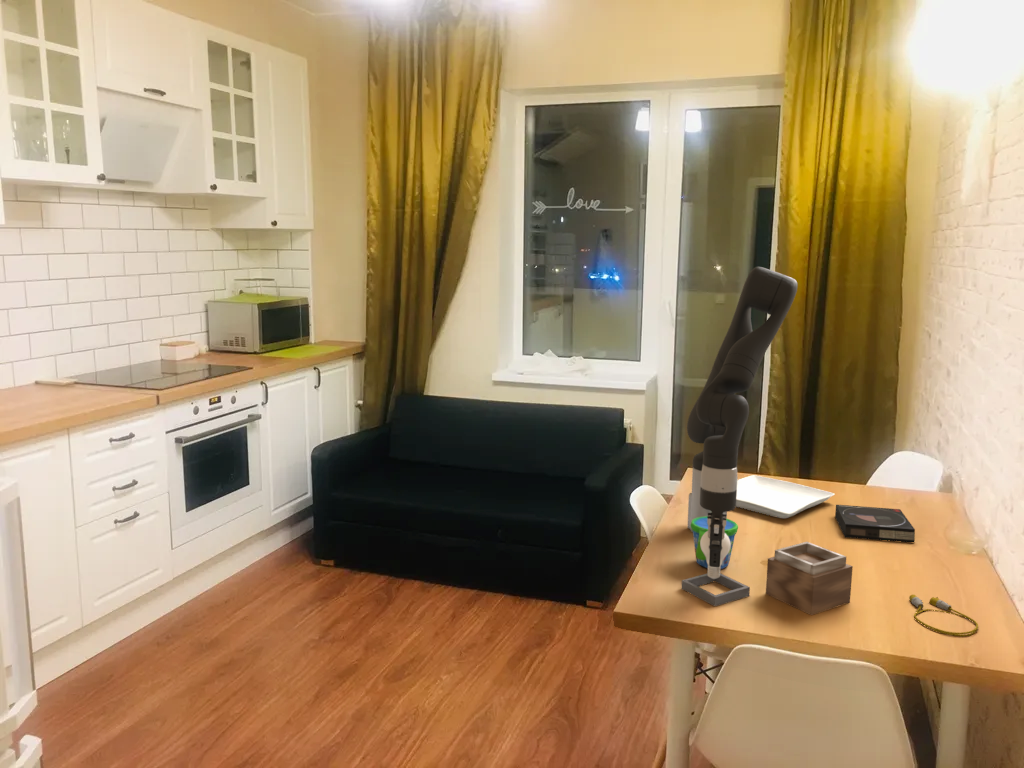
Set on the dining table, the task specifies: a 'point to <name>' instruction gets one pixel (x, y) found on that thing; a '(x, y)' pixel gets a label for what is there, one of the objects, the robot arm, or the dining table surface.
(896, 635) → the dining table surface
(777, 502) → the square plate
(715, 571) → the lightbulb
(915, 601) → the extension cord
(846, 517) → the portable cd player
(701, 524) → the snack cup
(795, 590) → the walnut stand
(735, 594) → the frame
